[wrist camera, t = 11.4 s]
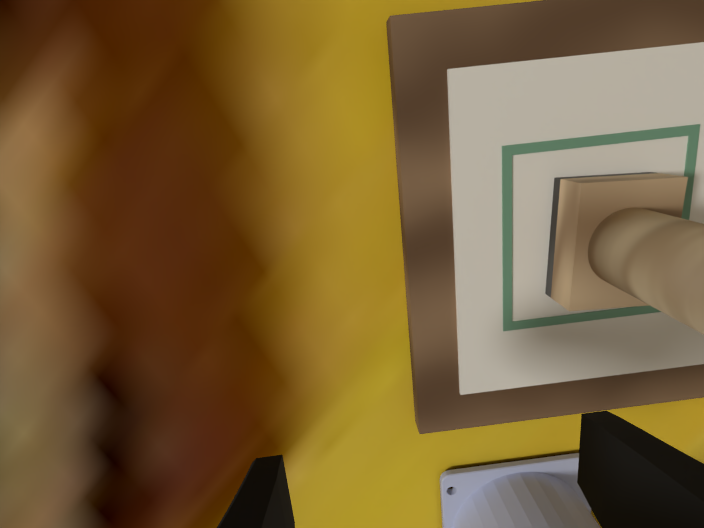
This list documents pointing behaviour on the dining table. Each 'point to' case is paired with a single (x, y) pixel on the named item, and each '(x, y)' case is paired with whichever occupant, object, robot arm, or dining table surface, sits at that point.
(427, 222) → the desk board
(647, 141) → the paper
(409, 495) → the dining table surface
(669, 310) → the stamp
